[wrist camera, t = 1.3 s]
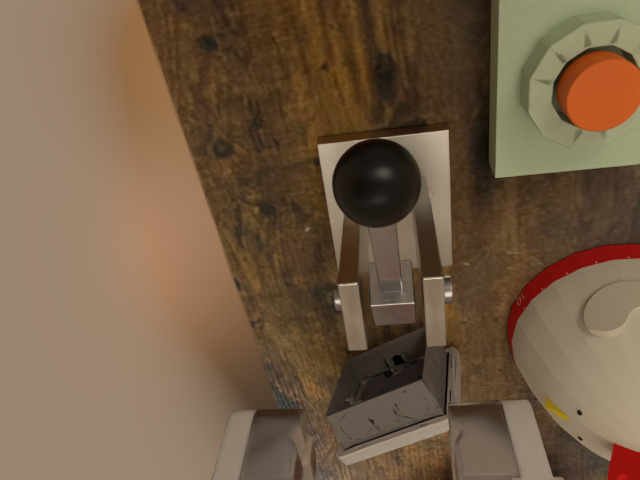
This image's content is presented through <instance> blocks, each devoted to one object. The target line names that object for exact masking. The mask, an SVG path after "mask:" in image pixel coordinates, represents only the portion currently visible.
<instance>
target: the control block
mask: <svg viewBox="0 0 640 480" xmlns="http://www.w3.org/2000/svg"><path fill="white" fill-rule="evenodd" d="M594 51H611V52H614V53H617V54H619V55H621V56H622V57H623V58H625V59H626V60H628V61H629V62H631V63H632V64H633V65H635V66H636V67H637V68H638V69H639V70H640V0H491V42H490V112H489V164H490V167H491V169H492V171H493V174H494V176H495V178H501V177H511V176H522V175H532V174H542V173H553V172H563V171H574V170H584V169H594V168H605V167H615V166H625V165H636V164H640V105H639V107H638V108H637V110H636V111H635V113H634V114H633V115H632V116H631V117H630V118H629V119H628V120H626V121H625V122H624V123H622V124H620V125H619V126H617V127H615V128H612V129H609V130H606V131H597V132H594V131H586V130H583V129H581V128H579V127H577V126H576V125H574V124H573V123H572V122H571V120H570V119H569V118H568V117H567V116H566V114H565V113H564V112H563V111H562V109H561V108H560V106H559V104H558V101H557V86H558V82H559V80H560V78H561V76H562V74H563V72H564V71H565V70H566V68H567V67H568V66H569V65H570V64H571V63H572V62H574V61H575V60H576V59H578V58H579V57H581V56H583V55H585V54H587V53H591V52H594Z"/></svg>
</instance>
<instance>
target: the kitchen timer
mask: <svg viewBox="0 0 640 480" xmlns="http://www.w3.org/2000/svg"><path fill="white" fill-rule="evenodd" d="M507 327H508V336H509V344H510V347H511V351H512V354H513V358H514V360H515V363H516V365H517V367H518V369H519V370H520V372H521V374H522V376H523V377H524V379H525V381H526V383H527V384H528V386H529V388H530V389H531V391H532V392H533V394H534V395H535V397H536V398H537V399H538V400H539V402H540V403H541V404H542V406H543V407H544V408H545V409H546V411H547V412H548V413H549V414H550V416H551V417H552V418H553V419H554V420H555V421H556V422H557V423H558V424H559V425H560V426H561V427H562V428H563V429H564V430H565V431H566V432H568V433H569V434H570V435H571V436H573V437H574V438H575V439H576V440H577V441H579V442H580V443H581V444H583V445H584V446H585V447H587V448H588V449H589V450H591V451H592V452H594V453H596V454H597V455H599V456H601V457H603V458H605V459H607V460H609V461H610V465H609V471H608V480H640V245H638V244H626V245H607V246H601V247H597V248H594V249H590V250H586V251H583V252H579V253H575V254H573V255H571V256H569V257H567V258H565V259H563V260H561V261H559V262H557V263H555V264H553V265H551V266H549V267H547V268H546V269H545V270H544V271H542V272H541V273H540V274H539V275H538V276H537V277H535V278H534V279H533V280H532V281H531V282H529V283H528V284H527V285H526V286H525V288H524V289H523V291H522V292H521V294H520V295H519V297H518V298H517V299H516V301H515V302H514V304H513V306H512V310H511V313H510V317H509V320H508V324H507Z"/></svg>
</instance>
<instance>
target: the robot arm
mask: <svg viewBox="0 0 640 480" xmlns="http://www.w3.org/2000/svg"><path fill="white" fill-rule="evenodd" d="M447 413H448V423H449V430H448V434H449V448H450V460H451V468H452V476H453V480H564V479H563V478H562V477H553V475H552V472H551V468H550V465H549V462H548V459H547V455H546V452H545V449H544V446H543V442H542V439H541V436H540V433H539V429H538V426H537V423H536V419H535V416H534V413H533V410H532V406H531V404H530V403H529V401H528V400H506V401H499V400H494V401H474V402H454V403H447ZM308 424H309V419H308V415H307V412H306V410H305V409H275V410H233V411H232V413H231V415H230V416H229V418H228V421H227V425H226V429H225V432H224V436H223V439H222V443H221V447H220V450H219V454H218V457H217V461H216V464H215V468H214V472H213V475H212V479H211V480H315V472H316V452H315V443H314V439H313V435H312V434H311V433H310V432H308Z"/></svg>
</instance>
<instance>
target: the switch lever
mask: <svg viewBox="0 0 640 480" xmlns="http://www.w3.org/2000/svg"><path fill="white" fill-rule="evenodd" d="M421 185H422V180H421V173H420V169H419V167H418V164H417V162H416V160H415V159H414V157H413V156H412V155H411V153H410V152H409V151H408V150H407V149H405V148H404V147H403V146H402V145H400V144H398V143H396V142H394V141H391V140H387V139H381V138H374V139H367V140H364V141H361V142H358V143H356V144H355V145H353V146H352V147H350V148H349V149H348V150H347V151H345V153H344V154H343V155H342V156H341V157H340V159H339V160H338V162H337V164H336V166H335V169H334V172H333V177H332V190H333V195H334V198H335V201H336V203H337V205H338V207H339V208H340V210H341V211H342V212H343V213H344V214H345V215H346V216H347V217H348V218H349V219H350V220H352V221H353V222H355V223H357V224H359V225H362V226H365V227H368V230H369V235H370V241H371V246H372V251H373V256H374V261H375V262H373V263H368V275H369V296H370V308H371V312H372V316H373V320H374V324H375V325H391V324H408V323H416V306H415V294H414V282H413V271H412V261H411V260H400V254H399V245H398V235H397V225H396V223H398V222H399V221H401V220H402V219H404V218H405V217H406V216H407V215H408V214H409V213H410V212H411V211H412V210H413V208H414V207H415V205H416V203H417V201H418V199H419V196H420V193H421Z"/></svg>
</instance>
